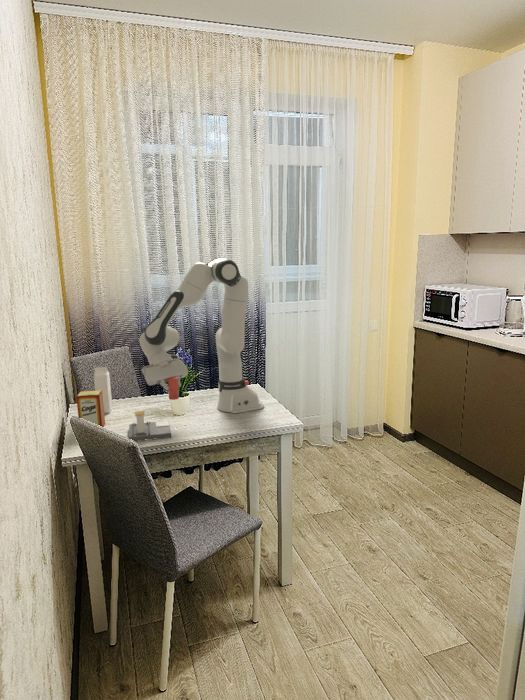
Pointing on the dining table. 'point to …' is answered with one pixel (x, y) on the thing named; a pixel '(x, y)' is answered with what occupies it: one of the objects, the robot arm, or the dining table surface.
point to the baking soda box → (91, 407)
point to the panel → (151, 430)
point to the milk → (103, 386)
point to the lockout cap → (173, 388)
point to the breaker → (140, 423)
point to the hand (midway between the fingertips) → (174, 388)
